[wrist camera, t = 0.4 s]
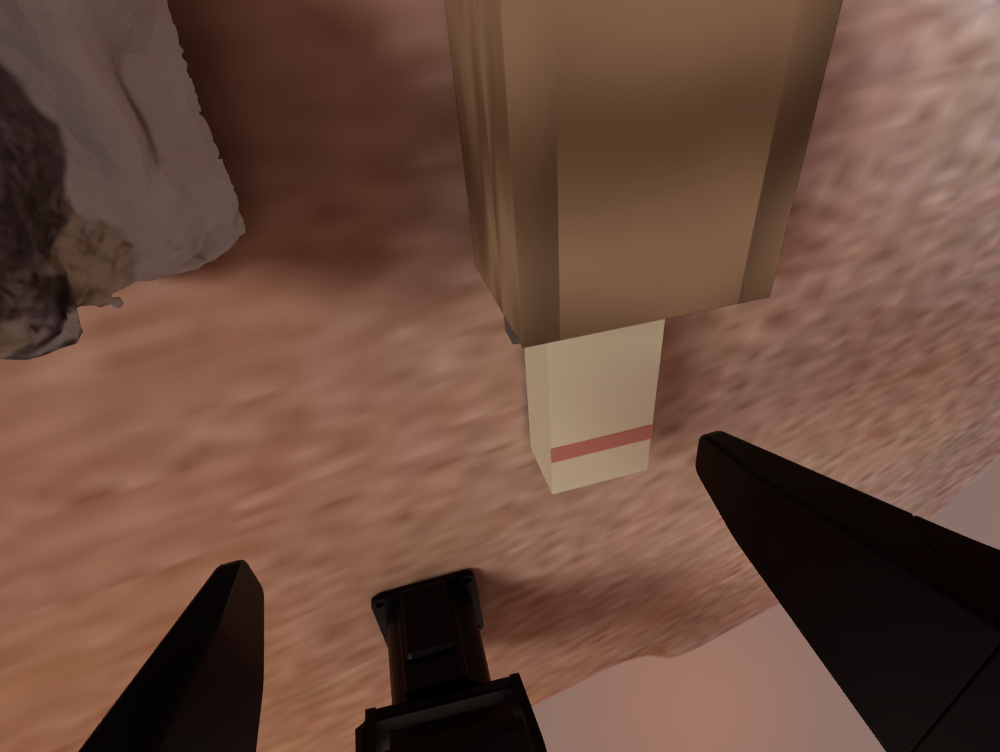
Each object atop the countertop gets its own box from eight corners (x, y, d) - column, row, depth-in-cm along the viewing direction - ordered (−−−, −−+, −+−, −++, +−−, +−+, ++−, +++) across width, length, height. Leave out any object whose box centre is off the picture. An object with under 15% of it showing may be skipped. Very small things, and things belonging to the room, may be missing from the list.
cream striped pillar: (616, 426, 28) (648, 471, 25) (530, 447, 27) (553, 495, 24) (634, 159, 20) (683, 178, 17) (513, 177, 19) (543, 201, 16)
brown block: (661, 246, 23) (765, 313, 17) (477, 279, 21) (524, 364, 16) (693, -61, 17) (870, -113, 11) (439, -42, 15) (494, -90, 10)
